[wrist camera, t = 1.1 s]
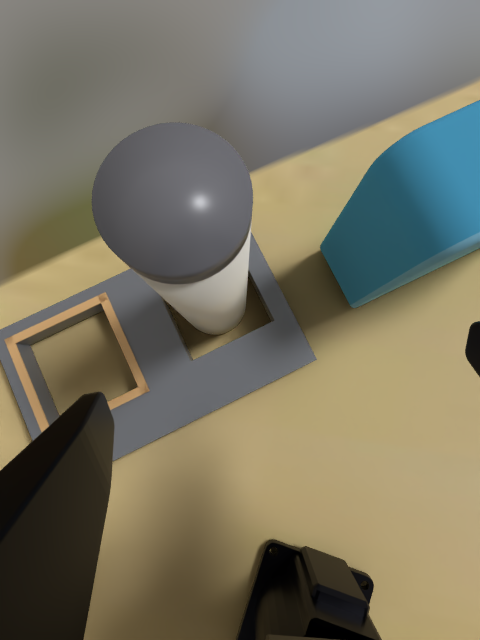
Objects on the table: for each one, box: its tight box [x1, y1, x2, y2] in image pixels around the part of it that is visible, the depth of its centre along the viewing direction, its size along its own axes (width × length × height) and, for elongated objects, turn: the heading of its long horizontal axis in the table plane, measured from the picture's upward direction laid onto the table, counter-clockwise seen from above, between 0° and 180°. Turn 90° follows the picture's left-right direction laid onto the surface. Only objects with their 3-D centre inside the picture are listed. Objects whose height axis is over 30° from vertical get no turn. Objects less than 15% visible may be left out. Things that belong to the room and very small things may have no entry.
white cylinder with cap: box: [92, 123, 253, 335], centre depth 17 cm, size 4×4×15 cm
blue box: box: [320, 100, 480, 308], centre depth 19 cm, size 12×4×12 cm, turn 116°
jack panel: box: [0, 233, 317, 461], centre depth 23 cm, size 10×17×2 cm, turn 116°
